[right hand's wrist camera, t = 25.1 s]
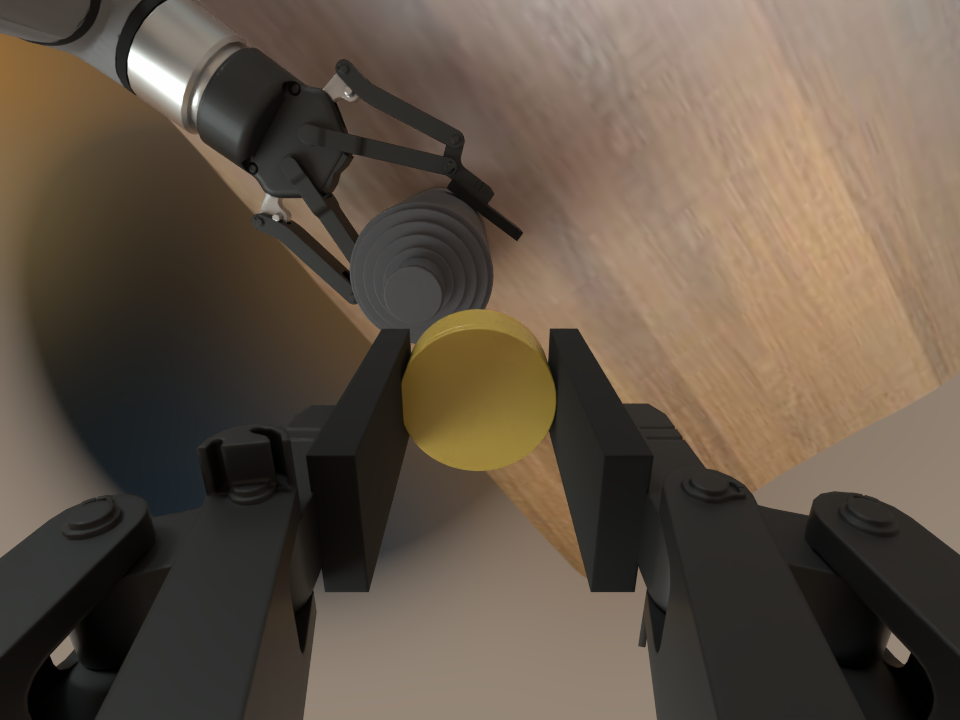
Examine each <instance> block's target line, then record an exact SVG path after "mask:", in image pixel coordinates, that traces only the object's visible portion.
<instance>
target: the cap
mask: <svg viewBox="0 0 960 720" xmlns="http://www.w3.org/2000/svg"><path fill="white" fill-rule="evenodd" d="M401 386H402V403H403V419H404V425H405V427H406V430H407V432H408V433H409V435H410V436H411V438H412V439H413V440H414V442H415V443H416V444H417V445H418V446H419V447H420V448H421V449H422V450H423V451H424V452H425V453H427V454H428V455H430V456H431V457H432V458H434V459H436V460H437V461H439V462H441V463H443V464H446V465H448V466H451V467H455V468H458V469H463V470H472V471H484V470H492V469H498V468H501V467H505V466H508V465H510V464H512V463H515V462H517V461H519V460H520V459H522V458H524V457H525V456H527V455H528V454H529V453H530V452H532V451H533V450H534V449H535V448H536V447H537V446H538V445H539V444H540V443H541V441H542V440H543V439H544V437H545V436H546V434H547V433H548V431H549V429H550V427H551V425H552V422H553V420H554V416H555V412H556V404H557V394H556V387H555V382H554V379H553V376H552V373H551V370H550V368H549V365H548V362H547V359H546V356H545V353H544V350H543V348H542V346H541V344H540V343H539V341H538V340H537V338H536V337H535V335H534V334H533V333H532V332H531V331H530V330H529V329H528V328H527V327H526V326H524V325H523V324H522V323H521V322H519V321H517V320H516V319H514V318H512V317H510V316H508V315H506V314H503V313H500V312H496V311H491V310H483V309H473V310H465V311H460V312H456V313H453V314H450V315H448V316H446V317H444V318H442V319H440V320H439V321H437V322H436V323H434V324H433V325H431V326H430V327H429V328H428V329H427V330H426V331H425V332H424V333H423V334H422V336H421V337H420V338H419V340H418V341H417V343H416V344H415V346H414V349H413V351H412V353H411V356H410V358H409V361H408V364H407V367H406V369H405V372H404V375H403V378H402V381H401Z"/></svg>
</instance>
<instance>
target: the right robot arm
mask: <svg viewBox="0 0 960 720" xmlns="http://www.w3.org/2000/svg"><path fill="white" fill-rule="evenodd" d="M410 356H411V345H410V329H382V330H381V331H380V333H379V335H378V336H377V338H376V340H375V341H374V343H373V345H372V346H371V348H370V350H369V352H368V353H367V355H366V356H365V358H364V360H363V361H362V363H361V365H360V366H359V368H358V370H357V371H356V373H355V375H354V376H353V378H352V380H351V381H350V383H349V385H348V386H347V388H346V390H345V391H344V393H343V395H342V396H341V398H340V400H339V401H338V403H337V405H311V406H310V407H308V408H307V409H305V410H303V411H302V412H300V413H299V414H297V415H295V416H294V417H293V419H292V420H291V421H290V423H289V424H288V425H287V427H286V428H285V429H284V428H283V427H281V426H276V425H272V424H250V425H244V426H238V427H234V428H231V429H228V430H225V431H222V432H219V433H217V434H215V435H213V436H212V437H210V438H208V439H206V440H205V441H204V442H203V443H202V444H201V445H200V446H199V447H198V448H197V454H198V458H199V462H200V467H201V471H202V475H203V480H204V484H205V488H206V492H207V497H206V499H205V501H204V503H203V505H202V507H201V508H197V509H193V510H190V511H185V512H180V513H174V514H169V515H164V516H159V517H154V518H151V516H150V512H149V509H148V505H147V502H146V501H144V500H143V499H142V498H141V497H140V496H135V495H129V494H118V495H105V496H100V497H98V498H92V499H89V500H86V501H83V502H82V503H80V504H78V505H76V506H73V507H71V508H69V509H66V510H65V511H63V512H62V513H60V514H58V515H57V516H55V517H54V518H52V519H50V520H49V521H47V522H46V523H45V524H44V525H42V526H41V527H40V528H38V529H37V530H36V531H35V532H33V533H32V534H31V535H29V536H28V537H27V538H26V539H24V540H23V541H22V542H20V543H19V544H18V545H17V546H15V547H14V548H13V549H11V550H10V551H9V552H8V553H6V554H5V555H4V556H2V557H1V558H0V720H303V716H304V708H305V700H306V692H307V684H308V676H309V668H310V660H311V652H312V644H313V636H314V628H315V620H316V605H315V598H314V592H313V588H314V586H315V583H316V581H317V578H318V576H319V573H320V571H321V568H322V574H323V581H324V588H325V592H369V589H370V585H371V581H372V577H373V574H374V570H375V566H376V562H377V558H378V554H379V550H380V547H381V543H382V539H383V535H384V531H385V528H386V524H387V520H388V516H389V512H390V508H391V505H392V501H393V497H394V493H395V489H396V485H397V481H398V478H399V474H400V470H401V466H402V462H403V458H404V455H405V451H406V447H407V443H408V439H409V433H408V432H407V430H406V427H405V425H404V419H403V403H402V386H401V381H402V378H403V375H404V372H405V369H406V367H407V364H408V361H409V358H410ZM548 365H549V368H550V370H551V373H552V376H553V379H554V382H555V387H556V394H557V404H556V412H555V416H554V420H553V422H552V425H551V427H550V429H549V433H550V437H551V441H552V444H553V448H554V452H555V456H556V460H557V464H558V467H559V471H560V475H561V479H562V483H563V487H564V490H565V494H566V498H567V502H568V506H569V510H570V513H571V517H572V521H573V525H574V529H575V533H576V537H577V540H578V544H579V548H580V552H581V556H582V560H583V563H584V567H585V571H586V575H587V579H588V583H589V586H590V590H591V592H635V585H636V578H637V571H638V566H639V569H640V572H641V574H642V577H643V579H644V582H645V584H646V587H647V592H646V598H645V605H644V611H643V618H642V624H641V631H640V638H639V646H641V647H645V646H646V640H647V643H648V651H649V659H650V667H651V675H652V683H653V690H654V699H655V706H656V714H657V720H960V555H959V554H958V553H957V552H955V551H954V550H953V549H951V548H950V547H949V546H948V545H946V544H945V543H944V542H942V541H941V540H940V539H938V538H937V537H936V536H935V535H933V534H932V533H931V532H929V531H928V530H927V529H925V528H924V527H923V526H922V525H920V524H919V523H918V522H916V521H915V520H914V519H912V518H911V517H909V516H908V515H906V514H905V513H903V512H901V511H900V510H898V509H897V508H895V507H893V506H891V505H888V504H886V503H884V502H881V501H879V500H878V499H876V498H873V497H870V496H867V495H865V496H863V495H862V494H858V493H847V492H835V491H834V492H829V493H823V494H820V495H819V496H818V497H816V498H815V499H814V500H813V503H812V507H811V511H810V514H809V516H808V515H803V514H797V513H793V512H787V511H782V510H777V509H772V508H768V507H764V506H760V505H758V504H757V502H756V500H755V498H754V496H753V495H752V493H751V492H750V491H749V490H748V489H747V487H746V486H745V485H744V484H742V483H741V482H739V481H737V480H736V479H734V478H733V477H731V476H729V475H726V474H723V473H721V472H718V471H716V470H711V469H706V468H705V466H704V465H703V464H702V462H701V461H700V460H699V458H698V457H697V456H696V454H695V453H694V452H693V450H692V449H691V448H690V446H689V445H688V444H687V442H686V441H685V440H683V439H682V436H681V434H680V433H679V432H678V430H677V429H675V426H674V425H673V424H672V422H671V421H670V420H669V418H668V417H667V416H666V414H664V413H663V412H661V411H659V410H658V409H656V408H654V407H653V406H651V405H650V404H622V402H621V400H620V399H619V397H618V395H617V394H616V392H615V390H614V389H613V387H612V385H611V384H610V382H609V380H608V379H607V377H606V375H605V374H604V372H603V370H602V369H601V367H600V365H599V364H598V362H597V360H596V359H595V357H594V355H593V354H592V352H591V350H590V349H589V347H588V345H587V344H586V342H585V340H584V339H583V337H582V335H581V334H580V332H579V330H578V329H550V338H549V358H548ZM891 632H892V633H893V634H894V635H895V636H896V637H897V638H898V639H899V640H900V641H901V642H902V643H903V644H904V646H905V647H906V648H907V649H908V650H909V651H910V652H911V654H910V656H909V659H908V661H907V663H906V664H905V665H904V664H902V663H901V662H900V661H899V660H898V659H897V658H895V657H894V656H893V654H892V653H891V652H890V651H889V650H888V649H887V648H886V645H887V643H888V640H889V638H890V635H891ZM68 635H69V636H70V639H71V641H72V644H73V646H74V650H73V652H72V653H71V654H70V655H69V656H68V657H67V658H66V659H65V660H64V661H63V662H61V663H60V664H59V665H58V666H55V665H54V664H53V662H52V660H51V657H50V654H51V653H52V652H53V651H54V650H55V649H56V648H57V647H58V646H59V645H60V644H61V643H62V642H63V640H64V639H65V638H66V637H67V636H68Z"/></svg>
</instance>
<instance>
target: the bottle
mask: <svg viewBox="0 0 960 720" xmlns="http://www.w3.org/2000/svg"><path fill="white" fill-rule="evenodd" d="M350 280H351V286H352V290H353V293H354V296H355V298H356V300H357V303H358V305H359V306H360V308H361V310H362V311H363V313H364V314H365V315H366V317H367V318H368V319H369V320H370V321H371V322H372V323H373V324H374V325H375V326H376V327H377V328H379V329H380V330H382V329H410V343H414V344H416V343H417V341H418V340H419V338H420V337H421V336H422V334H423V333H424V332H425V331H426V330H427V329H428V328H429V327H430V326H431V325H433V324H434V323H436V322H437V321H439V320H440V319H442V318H444V317H446V316H448V315H450V314H453V313H456V312H460V311H465V310H473V309H483V310H485V308H486V305H487V303H488V301H489V298H490V295H491V291H492V286H493V265H492V260H491V256H490V251H489V246H488V241H487V236H486V232H485V227H484V222H483V219H482V216H481V214H480V213H479V212H477V211H476V210H475V209H473V208H472V207H471V206H469V205H468V204H467V203H465V202H464V201H463V200H461V199H460V198H459V197H457V196H456V195H455V194H453V193H452V192H451V191H449V190H448V189H447V188H432V189H428V190H425V191H422V192H420V193H418V194H416V195H414V196H413V197H411V198H409V199H407V200H405V201H403V202H401V203H399V204H397V205H395V206H393V207H391V208H389V209H387V210H385V211H383V212H382V213H380V214H379V215H377V216H376V217H375V218H373V219H372V220H371V221H370V222H369V223H368V224H367V225H366V227H365V228H364V229H363V231H362V232H361V233H360V235H359V237H358V239H357V241H356V243H355V245H354V248H353V251H352V255H351V261H350Z"/></svg>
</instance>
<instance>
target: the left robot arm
mask: <svg viewBox="0 0 960 720" xmlns="http://www.w3.org/2000/svg"><path fill="white" fill-rule="evenodd" d="M0 33H3V34H6V35H11V36H14V37H18V38H20V39H23V40H25V41H28V42H32V43H36V44H40V45H44V46H48V47H51V48H55V49H58V50H62V51H65V52H69V53H71V54H73V55H75V56H77V57H79V58H80V59H82V60H84V61H85V62H87V63H89V64H90V65H92V66H93V67H95V68H96V69H98V70H99V71H101V72H102V73H104V74H105V75H107V76H108V77H110V78H111V79H113V80H114V81H116V82H117V83H119V84H121V85H122V86H123V87H125V88H127V89H128V90H129V91H130V92H132V93H133V94H135V95H136V96H138V97H139V98H141V99H142V100H143V101H145V102H146V103H148V104H149V105H151V106H152V107H153V108H155V109H156V110H158V111H159V112H160V113H162V114H163V115H165V116H166V117H168V118H169V119H170V120H172V121H173V122H175V123H176V124H178V125H179V126H180V127H182V128H183V129H185V130H186V131H187V132H189V133H192V134H199V135H200V138H201V139H202V141H203V142H204V143H205V144H207V145H208V146H210V147H211V148H213V149H214V150H216V151H217V152H219V153H220V154H221V155H223V156H224V157H226V158H227V159H229V160H230V161H232V162H233V163H235V164H236V165H238V166H239V167H240V168H242V169H243V170H245V171H246V172H248V173H249V174H251V175H252V176H253V177H255V178H256V180H257V181H258V182H259V184H260V185H261V187H262V189H263V190H264V191H265V192H266V194H265V197H264V200H263V203H262V206H261V210H260V213H259V214H255V215H254V216H253V217H252V225H253V226H254V228H256V229H257V230H259V231H262V232H264V233H266V234H268V235H270V236H273V237H275V238H277V239H279V240H280V241H281V242H282V243H283V244H285V245H286V246H287V247H288V248H289V249H290V250H291V251H292V252H293V253H295V254H296V255H297V256H298V257H299V258H300V259H301V260H302V261H303V262H305V263H306V264H307V265H308V266H309V267H310V268H311V269H312V270H313V271H315V272H316V273H317V274H318V275H319V276H320V277H321V278H322V279H323V280H324V281H326V282H327V283H328V284H329V285H330V286H331V287H332V288H333V289H334V290H336V291H337V292H338V293H339V294H340V295H341V296H342V297H343V298H344V299H346V300H347V301H348V302H349V303H351V304H358V303H357V300H356V298H355V296H354V293H353V290H352V286H351V280H350V271H349V270H348V269H347V268H346V267H344V266H343V265H342V264H341V263H340V262H339V261H338V260H337V259H336V258H335V257H334V256H333V255H331V254H330V253H329V252H328V251H327V250H326V249H325V248H324V247H323V246H322V245H321V244H320V243H319V242H317V241H316V240H315V239H314V238H313V237H312V236H311V235H310V234H309V233H308V232H307V231H306V230H304V229H303V228H302V227H301V226H300V225H298V224H297V223H295V222H294V221H292V220H291V213H290V212H289V211H288V210H287V209H286V208H285V207H284V206H283V203H282V198H303V199H304V201H305V202H306V204H307V205H308V207H309V208H310V210H311V211H312V212H313V214H314V215H315V216H317V217H318V218H319V219H320V221H321V222H322V224H323V225H324V226H325V228H326V229H327V231H328V232H329V234H330V235H331V237H332V238H333V240H334V241H335V242H336V244H337V245H338V247H339V248H340V250H341V251H342V253H343V254H344V256H345V257H346V258H347V260H348V261H349V263H350V261H351V255H352V251H353V248H354V245H355V243H356V241H357V239H358V237H359V235H358V234H357V232H356V231H355V229H354V228H353V226H352V225H351V223H350V222H349V220H348V219H347V217H346V216H345V214H344V213H343V211H342V210H341V208H340V206H339V203H338V201H337V200H336V198H335V197H334V195H333V194H332V192H333V191H334V189H335V188H336V186H337V184H338V182H339V178H340V174H341V172H342V171H343V170H345V169H346V168H347V167H348V166H349V164H350V162H351V161H352V159H353V156H352V154H356V155H361V156H365V157H370V158H374V159H378V160H383V161H387V162H391V163H396V164H400V165H404V166H408V167H413V168H417V169H421V170H426V171H430V172H434V173H439V174H443V175H447V176H448V177H449V178H451V179H452V181H451V182H450V184H449V185H448V187H447V189H448V190H449V191H451V192H452V193H453V194H455V195H456V196H457V197H459V198H460V199H461V200H463V201H464V202H465V203H467V204H468V205H469V206H471V207H472V208H473V209H475V210H476V211H477V212H479V213H480V214H481V215H483V216H484V217H485V218H487V219H488V220H489V221H491V222H492V223H494V224H495V225H496V226H498V227H499V228H500V229H502V230H503V231H504V232H506V233H507V234H508V235H510V236H511V237H512V238H514V239H515V240H516V241H518V239H519V238H520V236H521V235H522V234H523V232H522V231H521V230H520V228H518V227H517V226H516V225H514V224H513V223H512V222H510V221H509V220H508V219H506V218H505V217H504V216H502V215H501V214H500V213H498V212H497V211H496V210H494V209H493V208H492V207H490V206H489V205H488V203H489V201H490V200H491V198H492V197H493V195H494V193H493V191H492V189H491V188H490V187H489V186H488V185H487V184H485V183H484V182H483V181H481V180H480V179H479V178H477V177H476V176H475V175H474V174H472V173H471V172H470V171H468V170H467V169H466V168H465V167H464V166H463V165H462V163H461V154H462V150H463V146H464V142H465V140H464V136H463V134H462V133H461V132H460V131H458V130H457V129H455V128H453V127H451V126H449V125H447V124H445V123H443V122H442V121H440V120H438V119H436V118H434V117H432V116H430V115H428V114H427V113H425V112H423V111H421V110H419V109H417V108H415V107H414V106H412V105H410V104H408V103H406V102H404V101H402V100H400V99H399V98H397V97H395V96H393V95H391V94H389V93H387V92H386V91H384V90H382V89H380V88H378V87H376V86H374V85H372V84H371V83H370V82H369V81H368V79H367V78H366V77H365V76H364V75H363V74H362V73H361V72H360V71H359V70H358V69H357V68H356V67H355V66H354V65H353V64H352V63H350V62H349V61H348V60H345V59H343V60H340V61H338V62H337V64H336V74H335V75H334V76H333V77H332V79H331V80H330V81H329V82H328V83H327V85H326V86H325V87H324V88H323V89H320V88H313V87H309V86H307V85H305V84H304V83H303V82H301V81H300V80H299V79H297V78H296V77H295V76H293V75H292V74H290V73H289V72H288V71H286V70H285V69H284V68H282V67H281V66H280V65H278V64H277V63H276V62H274V61H273V60H272V59H270V58H269V57H268V56H266V55H265V54H264V53H262V52H261V51H260V50H258V49H256V48H249V46H248V45H247V43H246V41H245V39H244V38H242V37H241V36H240V35H238V34H237V33H236V32H234V31H233V30H232V29H230V28H229V27H228V26H226V25H225V24H224V23H222V22H221V21H220V20H218V19H217V18H216V17H214V16H213V15H211V14H210V13H209V12H207V11H206V10H205V9H203V8H202V7H201V6H199V5H198V4H197V3H195V2H194V1H193V0H0ZM340 99H346V100H347V101H349V102H351V103H356V102H358V101H359V100H360V99H362V100H364V101H365V102H367V103H369V104H370V105H372V106H374V107H375V108H377V109H379V110H381V111H383V112H385V113H387V114H389V115H391V116H392V117H394V118H396V119H398V120H400V121H402V122H404V123H406V124H408V125H409V126H411V127H413V128H415V129H417V130H419V131H421V132H423V133H425V134H427V135H428V136H430V137H432V138H434V139H436V140H438V141H440V142H442V143H444V144H445V145H446V147H445V152H444V156H439V155H435V154H431V153H426V152H422V151H418V150H414V149H409V148H405V147H401V146H397V145H392V144H388V143H384V142H380V141H376V140H371V139H367V138H363V137H359V136H355V135H350V134H348V131H347V129H346V126H345V123H344V121H343V118H342V116H341V113H340V110H339V108H338V105H337V103H336V102H337V101H338V100H340Z"/></svg>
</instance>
